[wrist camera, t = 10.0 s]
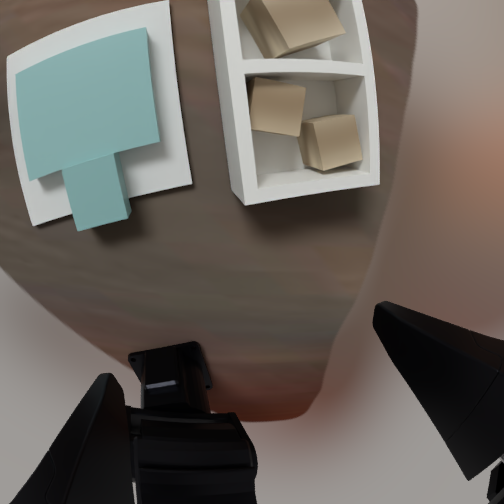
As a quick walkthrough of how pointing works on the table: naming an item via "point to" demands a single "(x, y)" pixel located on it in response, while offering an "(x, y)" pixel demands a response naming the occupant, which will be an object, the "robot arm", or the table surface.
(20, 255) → the table surface
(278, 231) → the table surface
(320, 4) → the cube
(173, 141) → the mat
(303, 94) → the cube
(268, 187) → the tub
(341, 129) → the cube
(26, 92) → the lid
